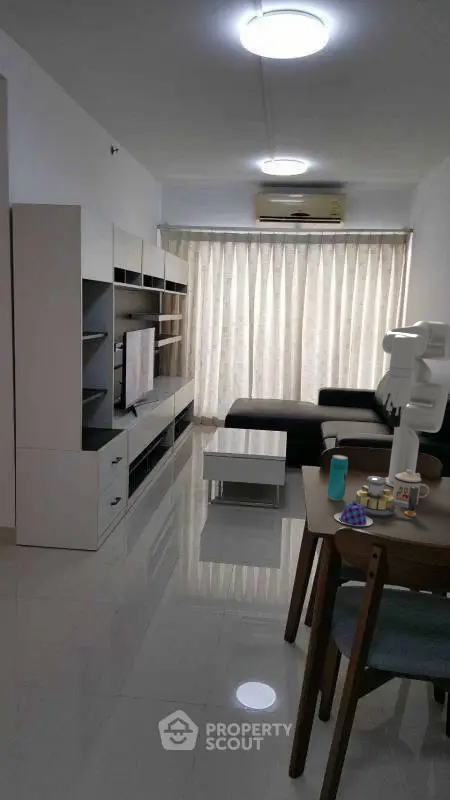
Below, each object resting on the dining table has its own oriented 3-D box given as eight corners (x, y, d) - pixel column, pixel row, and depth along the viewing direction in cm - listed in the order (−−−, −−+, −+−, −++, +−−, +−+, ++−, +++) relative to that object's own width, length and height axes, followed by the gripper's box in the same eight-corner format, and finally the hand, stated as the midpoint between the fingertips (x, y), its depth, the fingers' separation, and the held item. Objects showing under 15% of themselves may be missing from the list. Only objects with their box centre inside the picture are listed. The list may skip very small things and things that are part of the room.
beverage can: (343, 502, 209) (348, 459, 206) (326, 500, 210) (331, 457, 207) (343, 497, 214) (348, 455, 212) (327, 495, 215) (332, 453, 213)
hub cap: (369, 500, 213) (373, 470, 211) (403, 513, 202) (407, 482, 200) (342, 506, 204) (346, 475, 202) (377, 520, 193) (381, 487, 192)
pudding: (345, 511, 200) (346, 496, 199) (379, 522, 193) (381, 506, 192) (326, 520, 191) (328, 504, 190) (361, 531, 184) (363, 515, 183)
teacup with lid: (392, 504, 211) (396, 471, 209) (390, 496, 220) (395, 465, 218) (428, 509, 209) (433, 476, 207) (425, 501, 218) (430, 469, 216)
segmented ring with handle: (353, 505, 199) (356, 482, 198) (358, 495, 210) (360, 473, 209) (414, 516, 193) (418, 493, 192) (416, 505, 204) (419, 483, 203)
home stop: (408, 512, 204) (411, 489, 203) (418, 515, 201) (421, 492, 200) (402, 513, 202) (405, 490, 200) (411, 517, 199) (414, 493, 198)
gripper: (402, 369, 211) (396, 421, 214) (378, 372, 201) (372, 426, 204) (422, 373, 205) (415, 426, 209) (398, 376, 195) (391, 431, 199)
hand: (394, 426), depth 207 cm, fingers closed
